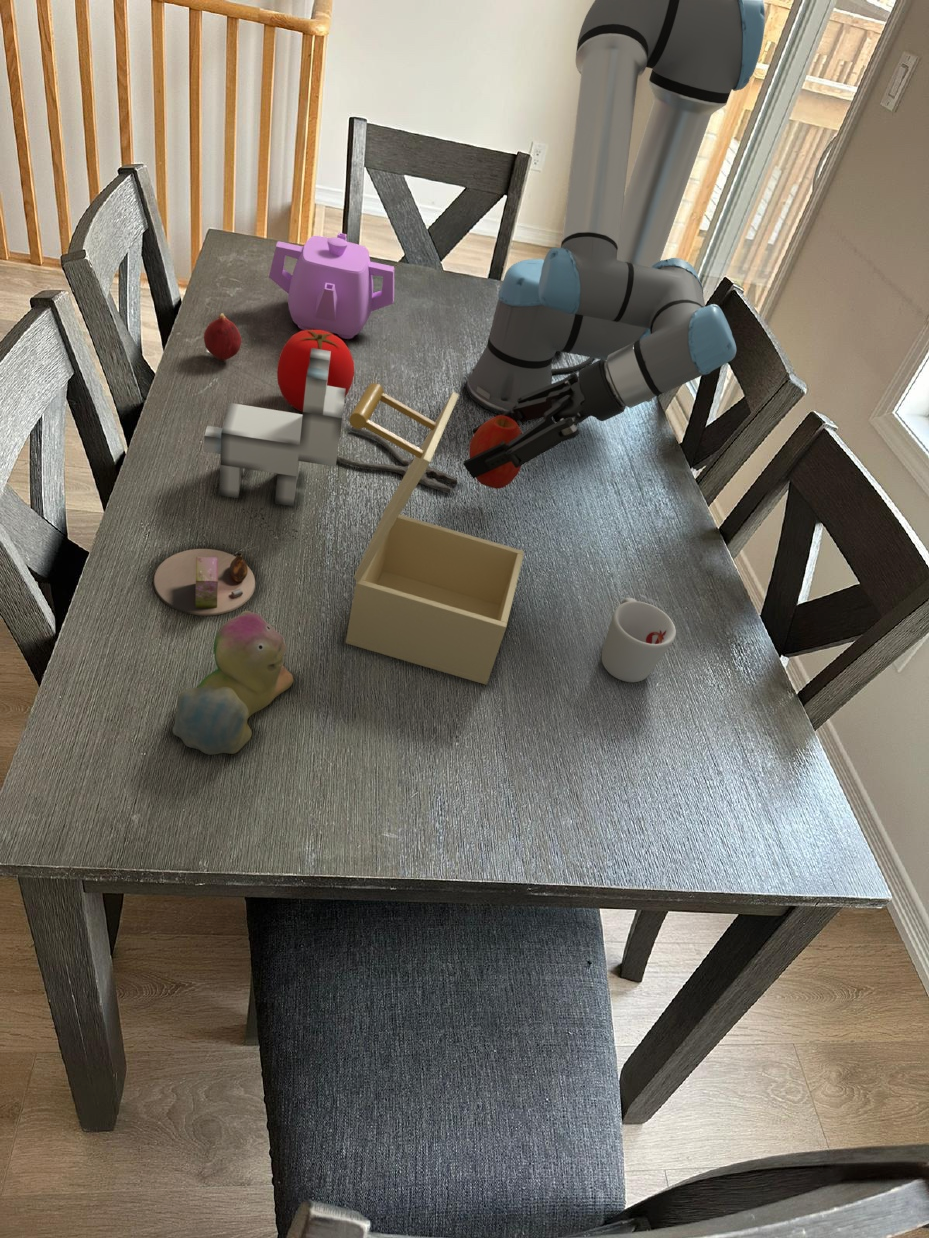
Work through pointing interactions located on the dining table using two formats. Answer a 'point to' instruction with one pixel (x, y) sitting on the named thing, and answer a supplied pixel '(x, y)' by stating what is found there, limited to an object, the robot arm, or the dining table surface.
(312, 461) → the toy llama
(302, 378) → the tomato
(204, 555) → the pink plate
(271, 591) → the dining table surface
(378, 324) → the dining table surface
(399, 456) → the pliers
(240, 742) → the sculpture
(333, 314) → the teapot
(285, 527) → the dining table surface
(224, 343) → the onion
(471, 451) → the apple
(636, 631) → the cup
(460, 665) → the chest
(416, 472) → the lid
